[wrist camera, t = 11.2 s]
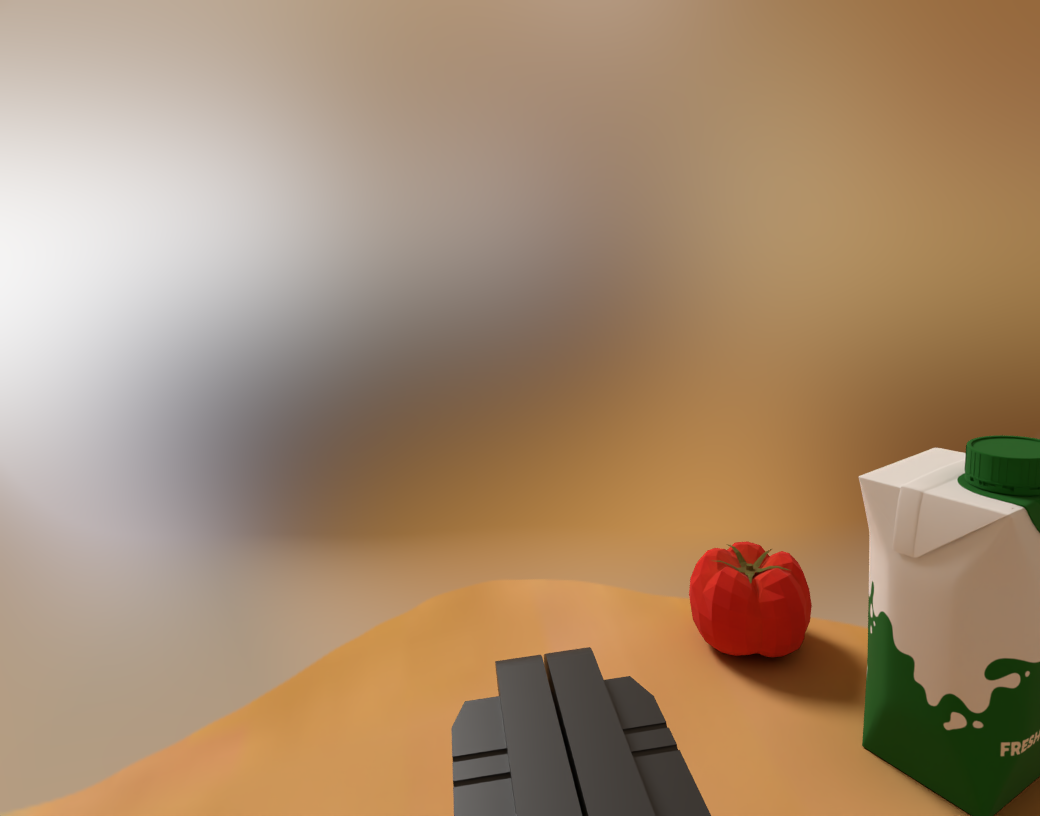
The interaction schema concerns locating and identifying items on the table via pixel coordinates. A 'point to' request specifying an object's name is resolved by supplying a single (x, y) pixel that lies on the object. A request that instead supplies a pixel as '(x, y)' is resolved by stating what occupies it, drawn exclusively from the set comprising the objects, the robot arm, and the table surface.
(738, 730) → the table surface
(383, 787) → the table surface
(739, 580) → the tomato
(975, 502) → the milk carton
